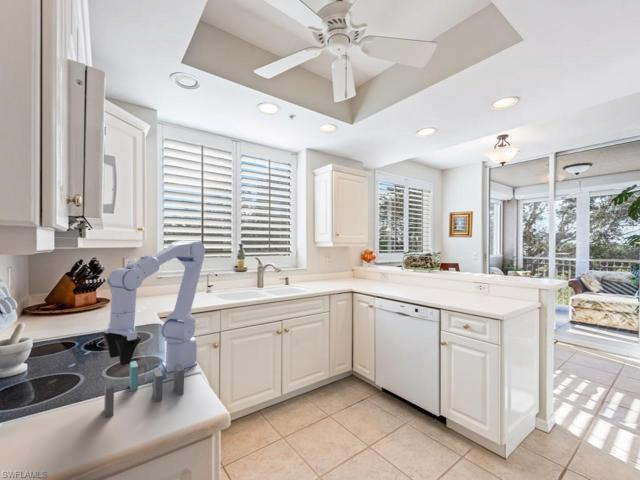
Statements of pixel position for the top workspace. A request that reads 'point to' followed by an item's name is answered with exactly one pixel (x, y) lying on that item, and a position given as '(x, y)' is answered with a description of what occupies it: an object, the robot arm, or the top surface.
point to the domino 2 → (133, 376)
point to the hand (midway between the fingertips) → (120, 360)
